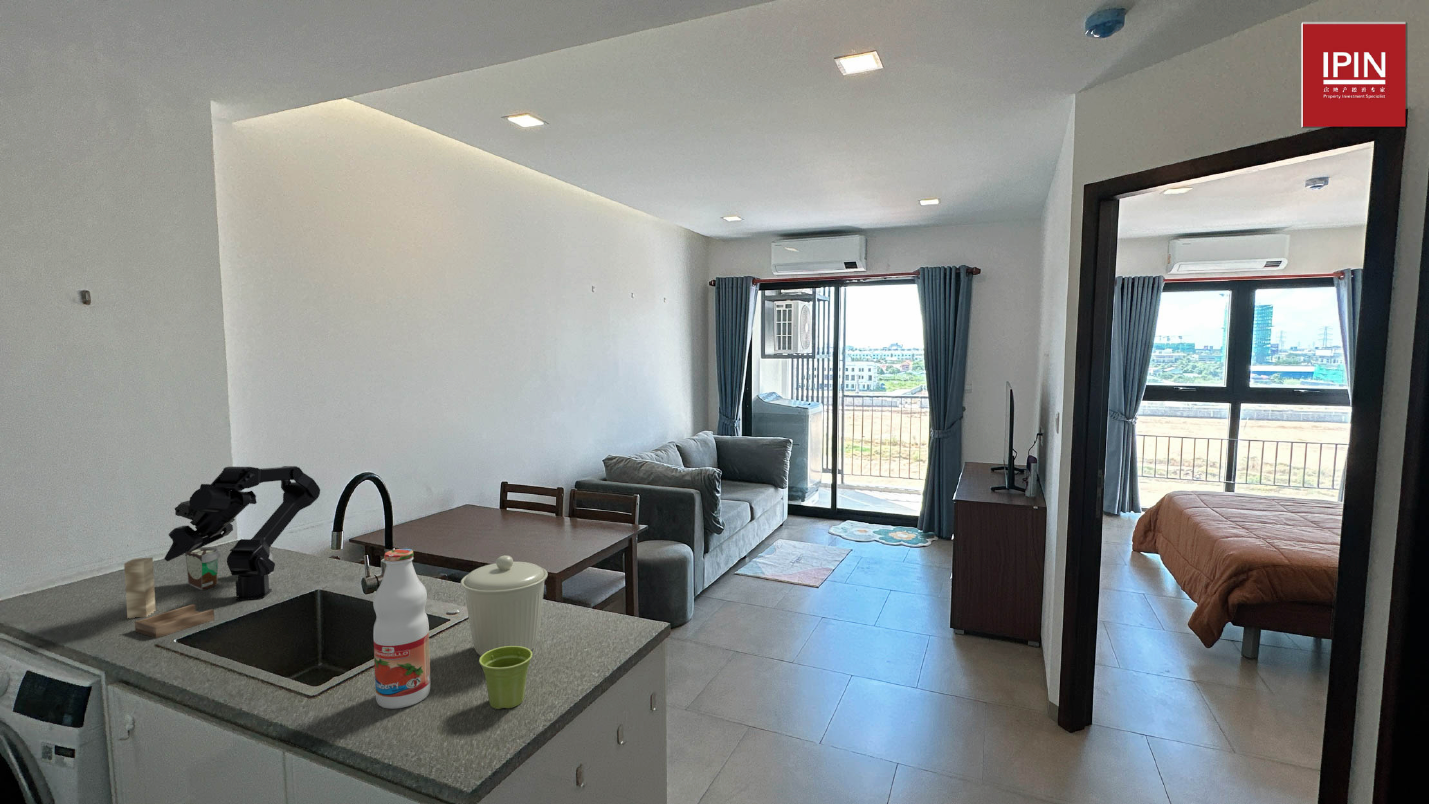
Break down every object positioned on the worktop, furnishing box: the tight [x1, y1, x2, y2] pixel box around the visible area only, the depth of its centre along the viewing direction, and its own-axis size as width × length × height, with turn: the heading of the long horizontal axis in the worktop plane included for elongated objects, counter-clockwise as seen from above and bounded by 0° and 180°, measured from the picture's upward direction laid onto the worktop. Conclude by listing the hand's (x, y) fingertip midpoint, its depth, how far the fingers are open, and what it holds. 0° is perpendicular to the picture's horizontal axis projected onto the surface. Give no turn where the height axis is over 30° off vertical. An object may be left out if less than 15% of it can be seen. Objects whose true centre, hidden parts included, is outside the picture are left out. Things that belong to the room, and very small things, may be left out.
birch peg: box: [123, 556, 156, 619], centre depth 164 cm, size 4×4×14 cm
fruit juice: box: [372, 548, 431, 710], centre depth 123 cm, size 9×9×28 cm
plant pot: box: [478, 646, 533, 710], centre depth 121 cm, size 9×9×9 cm
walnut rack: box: [134, 604, 215, 639], centre depth 158 cm, size 12×9×2 cm
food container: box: [184, 546, 222, 591], centre depth 187 cm, size 12×6×10 cm, turn 58°
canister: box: [460, 555, 548, 657], centre depth 143 cm, size 18×18×21 cm
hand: (177, 555), depth 168 cm, fingers open, 9 cm apart
